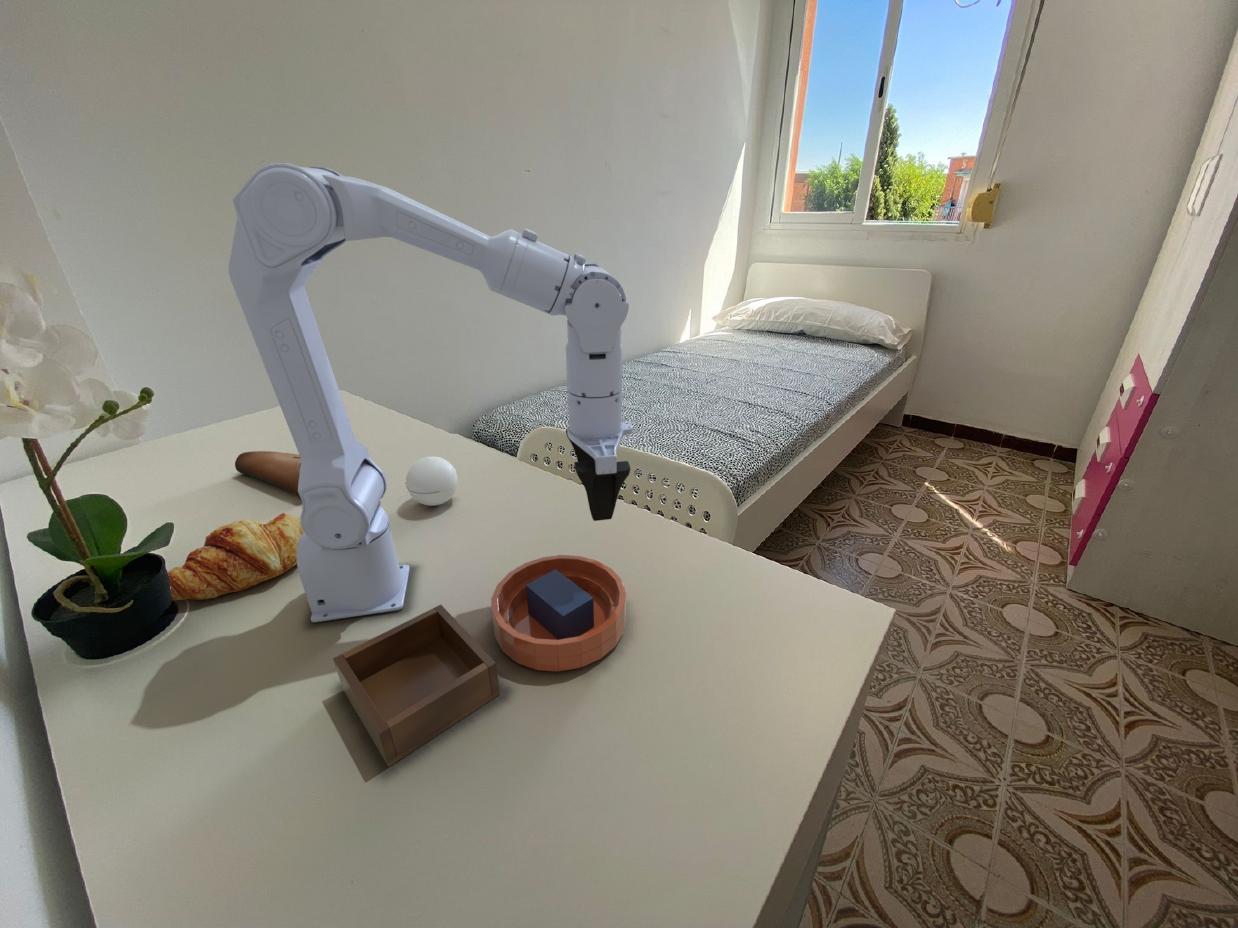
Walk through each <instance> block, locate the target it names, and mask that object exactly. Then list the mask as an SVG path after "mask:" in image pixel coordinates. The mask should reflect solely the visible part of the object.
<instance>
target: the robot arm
mask: <svg viewBox="0 0 1238 928" xmlns="http://www.w3.org/2000/svg"><path fill="white" fill-rule="evenodd" d="M232 203H233V206H234V210H235V214H236V222H235V228H234V234H233V238H232V244H231V249H230V251H231V252H230V257H229V260H228V261H229V263H228V274H229V278H230V279H229V280H230V281H231V282H230V283H231V284H232V287H233V290H234V292H235V295H236V297H237V300H238V302H239V305H240V308H241V310H242V312H243V315H244V317H245V320H246V322H247V325H248V327H249V330H250V333H251V335H252V338H253V340H254V343H255V346H256V348H257V350H258V353H259V356H260V357H261V360H262V363H263V366H264V369H265V371H266V373H267V376H268V378H269V381H270V384H271V387H272V389H273V391H274V393H275V396H276V400H277V402H278V404H279V406H280V409H281V412H282V414H283V417H284V419H285V422H286V425H287V427H288V430H289V432H290V435H291V437H292V440H293V442H294V444H295V448H296V451H297V452H298V455H300V458H301V466H300V475H299V483H298V493H299V495H300V496H299V497H300V501H301V505H302V506H301V507H302V509H301V513H300V516H301V526H302V529H303V531H304V534H302V535H301V537H300V539H299V542H298V546H297V564H296V567H297V571H298V572H297V573H298V575H299V578H300V579H299V580H300V581H301V584H302V587H303V590H304V594H305V596H306V600H307V602H308V605H309V609H310V612H311V615H310V620H311V623H319V622H320V623H321V622H326V621H332V620H339V619H347V618H353V617H360V616H367V615H373V614H380V613H388V612H395V611H400V610H402V608H403V607H404V605H405V604H404V603H405V598H406V593H407V587H408V581H409V577H410V575H409V574H410V569H411V568H410V565H409V564H400V563H399V558H398V555H397V550H396V545H395V541H394V536H393V533H392V529H391V524H390V519H389V516H388V514H387V513H386V511H385V510H384V508H383V506H382V503H381V499H383V498H384V495H385V494H386V492H387V489H388V488H387V486H388V482H387V477H386V475H385V473H384V471H383V470H382V469H381V467H379V466H378V465H377V464H376V463H375V461H373V459H372V457H371V454H370V453H369V450H368V448H367V446H366V445H365V444H364V443H363V442H361V441H360V440H358V439H356V437H355V434H354V431H353V428H352V425H351V422H350V419H349V416H348V413H347V409H346V407H345V404H344V401H343V397H342V394H341V392H340V388H339V386H338V383H337V380H336V377H335V374H334V371H333V368H332V365H331V361H330V359H329V356H328V353H327V350H326V347H325V345H324V341H323V337H322V334H321V333H320V329H319V326H318V322H317V320H316V317H315V314H314V311H313V308H312V305H311V302H310V300H309V296H308V294H307V290H306V283H307V282H308V280H309V279H310V278H311V276H312V275H313V274H314V272H315V271H316V269H317V268H318V267H319V266H320V264H321V262H322V261H323V259H324V258H325V257H326V256H327V255H328V254H329V253H331V252H332V251H334V250H335V249H337V248H339V247H340V246H342V245H343V244H345V243H346V242H351V241H360V240H370V239H378V238H391V239H395V240H397V241H400V242H403V243H405V244H407V245H410V246H412V247H413V246H414V247H416V248H418V249H420V250H424V251H426V252H429V253H432V254H434V255H438V256H440V257H442V258H446V259H448V260H450V261H453V262H456V263H459V264H461V265H463V266H467V267H469V268H471V269H475V270H478V271H479V272H480V273H481V274H482V276H483V278H484V280H485V282H486V285H487V287H488V288H489V290H490V291H491V292H494V293H496V294H499V295H501V296H503V297H506V298H509V299H510V300H514V301H516V302H519V303H521V304H523V305H525V306H528V307H530V308H533V309H536V310H537V311H540V312H543V313H545V314H548V315H550V316H566V319H567V320H566V328H567V329H566V331H567V332H566V333H567V342H566V346H565V362H566V365H565V366H566V387H567V407H568V408H567V412H568V426H567V427H566V430H565V435H566V437H567V439H568V440H569V442H570V444H571V447H572V448H573V450H574V453H575V456H576V459H577V461H575V462H573V463H574V470H575V474H576V475H577V477H578V479H579V480H580V482H581V483H582V486H583V487H584V490H585V493H586V498H587V503H588V507H589V511H590V516H591V518H592V521H594V522H597V521H607V520H612V518H613V516H614V513H615V510H616V505H617V501H618V497H619V493H620V491H621V489H622V487H623V484H624V482H625V481H626V480H627V478H628V477H629V476H630V473H631V465H630V463H629V461H628V460H622V461H618V460H617V458H618V456H617V453H618V450H619V447H620V445H621V442H622V440H623V437H624V436H626V435H627V436H628V435H632V434H633V430H634V429H633V425H632V424H631V423H630V422H629V421H623V345H622V344H621V340H622V339H621V338H622V325H623V324H624V322H625V320H627V319H626V318H627V316H628V314H629V308H630V307H629V306H630V305H629V303H628V302H627V297H626V293H625V290H624V288H623V287H622V285H621V283H619V281H618V280H617V279H616V278H615V277H614V276H613V275H612V274H610V272H608V271H607V270H605V269H604V268H602V267H600V266H599V265H598V264H597V263H595V262H586V261H587V258H586V257H585V256H584V255H582V254H580V253H577V252H576V253H574V256H572V255H569V254H567V253H565V252H563V251H561V250H558V249H556V248H553V247H552V246H549V245H548V244H546V243H543V242H541V241H538V240H537V239H538V237H539V236H538V233H537V232H535V231H533V230H531V229H529V228H523V231H522V233H520V232H519V231H516V230H515V229H506V230H505V231H503V232H500V233H498V234H496V235H493V236H490V235H488V234H487V233H484V232H481V231H479V230H478V229H475V228H473V227H471V226H469V225H468V224H465V223H463V222H461V221H459V220H456V219H455V218H452V217H450V216H449V215H446V214H445V213H442V212H441V211H437V209H434V208H432V207H430V206H427V205H425V204H423V203H421V202H419V201H417V200H414V199H413V198H410V197H408V196H406V195H404V194H402V193H400V192H398V191H396V190H394V189H392V188H389V187H387V186H384V185H380V184H377V183H375V182H371V181H368V180H365V179H361V178H358V177H353V176H348V175H342V174H340V173H339V172H338V171H335V170H333V169H331V168H328V167H325V166H324V167H323V166H309V167H305V166H298V165H296V164H293V163H286V162H274V163H269V164H266V165H264V166H262V167H259V169H257V170H256V171H255V172H253V174H252V175H251V176H250V178H248V180H247V181H246V182H245V184H243V186H242V187H241V188H240V190H239V191H238V192H237V193H236V195H235V196H234V197H233V198H232ZM399 564H400V565H399Z"/></svg>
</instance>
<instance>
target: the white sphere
mask: <svg viewBox="0 0 1238 928" xmlns="http://www.w3.org/2000/svg"><path fill="white" fill-rule="evenodd" d="M458 485H459V476H458V472H457V470H456V468H455V467H454V466H453V465H452V463H451V462H450V461H448V460H446V459H444V458H442V457H440V456H425V457H422V458H420V459H418V460H416V461H415V462H414V463H413V464H412V465H411V466H410V467H409V468H408V471H407V473H406V477H405V488H406V489H407V492H405V493H404V494H403V495H400V497H399V498H398V500H400V499H401V498H403V497H404V496H405V495H406V494H408V493H409V495H410V496H411V498H413V500H414V501H416V502H417V503H418V504H422V505H424V506H427V507H428V506H429V507H433V506H439V505H442V504H445V503H447V502H448V501H449V500H450V499H451V498H452V497H454V495H455V494H456V491H457V489H458Z"/></svg>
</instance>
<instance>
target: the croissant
mask: <svg viewBox="0 0 1238 928" xmlns="http://www.w3.org/2000/svg"><path fill="white" fill-rule="evenodd" d="M302 534H304V531H303V529H302V526H301V515H298V516H295V515H292V514H287V513H284V512H282V513H281V514H279V515H277V516H276V517H274V518H273V519H269V520H268V521H267V522H266V523H263V522H256V521H255V520H253V519H242V520H239V521H233V522H231V523H227V524H224V525H222V526H219V527H217V528H216V529H214V530H213V531H211V532H210V533H209V534H208V535H206V536H205V541H204V544H203V546H201V547H199V548H195V550H192V551H190V552H189V553H188V554H187V557H186V558H185V559H186V560H185V562H184V564H183V565H182V566H176V567H172V569H170V570H169V571H167V572H166V573H168V576H169V579H170V587H171V596H172V597H173V600H172V601H181V600H182V601H184V600H198V601H199V600H209V599H215V598H218V597H220V596H222V595H226V594H229V593H236V592H240V591H244V590H247V589H250V588H252V587H256V586H257V585H258V584H261V583H263V582H266V581H268V580H271V579H274V578H276V577H278V576H280V575H282V574H284V573H286V572H287V571H289V570H290V569H291V568H293V567H294V566H297V546H298V542H299V539H300V537H301V535H302Z"/></svg>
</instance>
